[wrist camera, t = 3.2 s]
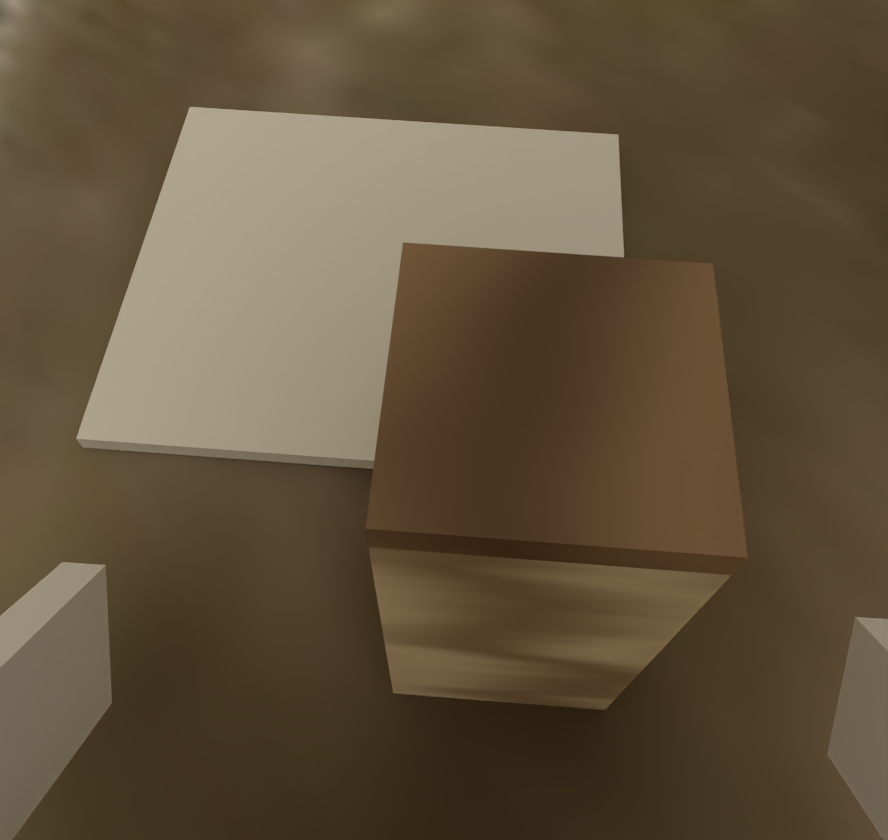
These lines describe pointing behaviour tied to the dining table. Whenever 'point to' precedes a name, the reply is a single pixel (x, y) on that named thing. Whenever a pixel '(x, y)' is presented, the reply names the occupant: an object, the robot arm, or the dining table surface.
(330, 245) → the felt mat
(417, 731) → the dining table surface
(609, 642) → the oak block
